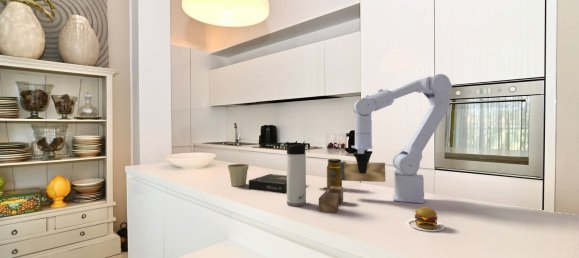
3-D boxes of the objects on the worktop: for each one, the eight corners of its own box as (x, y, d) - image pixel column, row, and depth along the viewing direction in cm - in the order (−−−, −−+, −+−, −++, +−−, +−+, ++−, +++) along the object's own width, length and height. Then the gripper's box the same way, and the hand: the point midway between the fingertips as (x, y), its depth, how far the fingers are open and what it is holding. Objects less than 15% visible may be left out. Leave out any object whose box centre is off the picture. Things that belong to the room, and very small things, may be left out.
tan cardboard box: (343, 201, 101) (343, 186, 101) (335, 213, 89) (335, 196, 88) (328, 200, 103) (328, 185, 103) (318, 211, 90) (318, 194, 90)
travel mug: (305, 207, 95) (305, 144, 94) (285, 206, 96) (284, 144, 96) (308, 201, 101) (307, 142, 101) (289, 201, 102) (288, 142, 102)
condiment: (346, 189, 120) (346, 159, 120) (333, 192, 114) (333, 161, 114) (332, 186, 125) (332, 157, 125) (318, 189, 120) (318, 159, 119)
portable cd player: (303, 185, 128) (303, 176, 128) (284, 194, 113) (284, 184, 113) (270, 182, 136) (270, 173, 136) (248, 190, 121) (248, 180, 121)
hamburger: (410, 217, 86) (410, 198, 86) (456, 227, 78) (457, 206, 78) (393, 229, 77) (393, 208, 77) (444, 241, 69) (444, 217, 69)
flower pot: (225, 184, 131) (224, 164, 131) (245, 182, 135) (245, 163, 135) (230, 188, 122) (230, 167, 122) (252, 186, 126) (252, 165, 126)
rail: (385, 180, 103) (385, 161, 103) (385, 182, 100) (384, 163, 100) (342, 178, 108) (341, 161, 108) (340, 180, 105) (339, 162, 105)
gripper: (354, 132, 112) (354, 168, 112) (348, 134, 98) (348, 175, 99) (374, 132, 109) (374, 169, 110) (370, 134, 96) (370, 176, 96)
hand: (363, 172), depth 104 cm, fingers closed on rail, 3 cm apart
